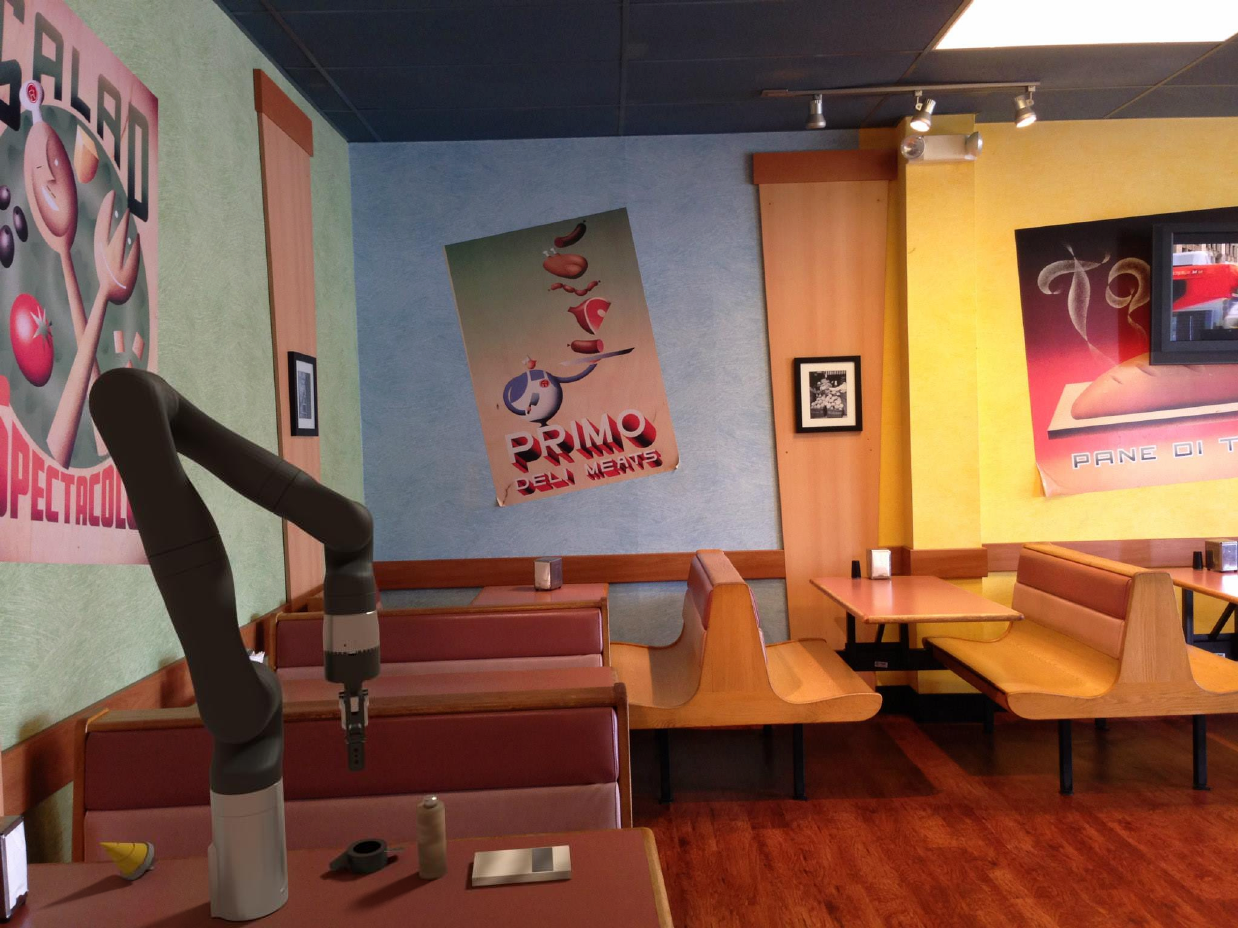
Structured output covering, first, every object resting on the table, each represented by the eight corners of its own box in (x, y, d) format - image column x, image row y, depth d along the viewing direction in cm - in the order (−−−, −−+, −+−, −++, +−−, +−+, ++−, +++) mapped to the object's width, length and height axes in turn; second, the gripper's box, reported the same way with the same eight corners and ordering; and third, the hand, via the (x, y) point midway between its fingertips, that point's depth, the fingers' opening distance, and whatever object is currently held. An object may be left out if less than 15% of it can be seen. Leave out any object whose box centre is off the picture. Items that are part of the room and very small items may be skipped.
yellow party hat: (163, 879, 135) (109, 854, 129) (135, 892, 136) (80, 867, 130) (172, 845, 139) (119, 818, 133) (145, 857, 140) (91, 831, 134)
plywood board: (472, 885, 129) (472, 876, 129) (475, 859, 137) (475, 851, 137) (571, 878, 131) (571, 869, 131) (569, 853, 138) (568, 844, 138)
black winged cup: (392, 879, 132) (391, 860, 132) (325, 878, 133) (324, 859, 133) (408, 853, 140) (407, 835, 140) (344, 853, 141) (344, 834, 141)
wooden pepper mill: (417, 880, 132) (414, 804, 131) (420, 866, 135) (417, 792, 135) (445, 878, 132) (442, 802, 131) (448, 864, 136) (445, 790, 135)
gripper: (323, 638, 133) (327, 749, 133) (322, 656, 119) (327, 780, 119) (377, 633, 135) (381, 743, 135) (382, 650, 121) (386, 773, 121)
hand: (355, 760), depth 127 cm, fingers open, 8 cm apart
